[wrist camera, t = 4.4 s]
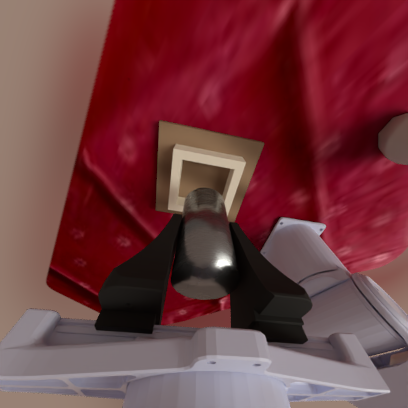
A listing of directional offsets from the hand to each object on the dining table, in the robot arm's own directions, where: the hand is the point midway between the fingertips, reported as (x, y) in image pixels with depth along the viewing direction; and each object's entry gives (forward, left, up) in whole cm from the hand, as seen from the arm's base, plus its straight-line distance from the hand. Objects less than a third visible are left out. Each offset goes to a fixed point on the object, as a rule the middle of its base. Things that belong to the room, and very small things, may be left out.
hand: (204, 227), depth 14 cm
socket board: (0, 0, -10) cm, 10 cm away
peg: (0, 0, -3) cm, 3 cm away
